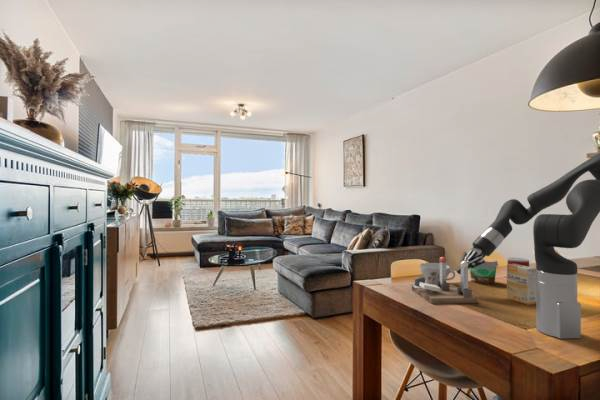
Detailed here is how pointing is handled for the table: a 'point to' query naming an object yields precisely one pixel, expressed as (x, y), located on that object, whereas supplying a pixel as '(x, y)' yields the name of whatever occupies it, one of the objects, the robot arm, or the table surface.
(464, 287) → the grey metal bar
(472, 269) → the food container
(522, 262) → the canned food
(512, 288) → the supplement box
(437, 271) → the teacup
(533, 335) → the table surface
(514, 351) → the table surface
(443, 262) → the red toggle
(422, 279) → the button
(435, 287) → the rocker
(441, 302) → the panel
